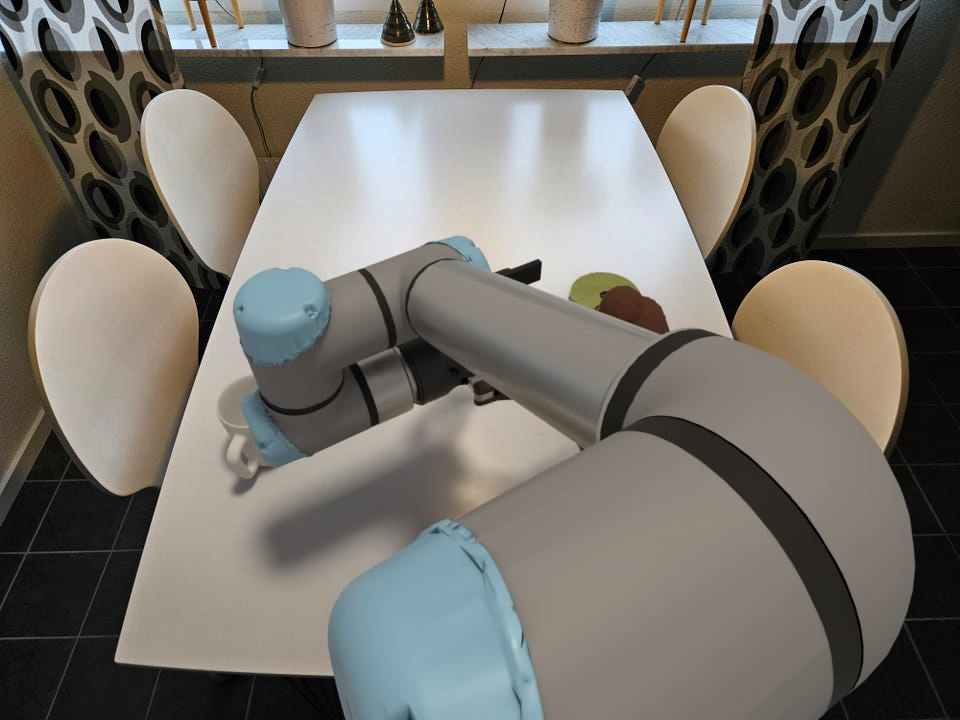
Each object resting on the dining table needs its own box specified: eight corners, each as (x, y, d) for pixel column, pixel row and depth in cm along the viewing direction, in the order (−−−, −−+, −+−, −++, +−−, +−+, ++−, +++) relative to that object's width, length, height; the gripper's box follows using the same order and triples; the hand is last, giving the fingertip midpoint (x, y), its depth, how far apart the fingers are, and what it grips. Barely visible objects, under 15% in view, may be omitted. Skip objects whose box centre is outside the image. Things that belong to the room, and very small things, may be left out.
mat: (573, 328, 100) (574, 319, 99) (565, 280, 108) (566, 271, 107) (645, 327, 101) (647, 318, 99) (632, 280, 108) (634, 271, 107)
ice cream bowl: (583, 409, 86) (599, 329, 75) (572, 348, 93) (585, 267, 82) (663, 407, 86) (690, 327, 75) (645, 347, 93) (668, 266, 82)
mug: (278, 500, 80) (258, 454, 72) (215, 488, 81) (189, 442, 74) (313, 427, 87) (298, 378, 80) (255, 417, 88) (235, 368, 81)
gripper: (358, 326, 75) (512, 267, 83) (463, 486, 61) (639, 398, 68) (349, 276, 70) (515, 218, 77) (461, 439, 55) (653, 348, 62)
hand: (573, 302), depth 73 cm, fingers open, 13 cm apart
